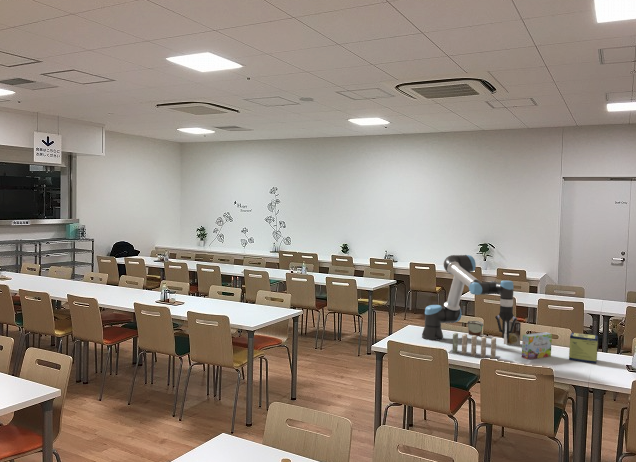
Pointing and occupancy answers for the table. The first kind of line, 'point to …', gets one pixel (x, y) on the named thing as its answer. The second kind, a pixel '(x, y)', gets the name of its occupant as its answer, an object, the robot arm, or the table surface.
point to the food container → (475, 328)
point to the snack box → (536, 345)
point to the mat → (472, 356)
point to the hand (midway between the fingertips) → (505, 343)
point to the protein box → (583, 348)
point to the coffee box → (513, 333)
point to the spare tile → (455, 343)
